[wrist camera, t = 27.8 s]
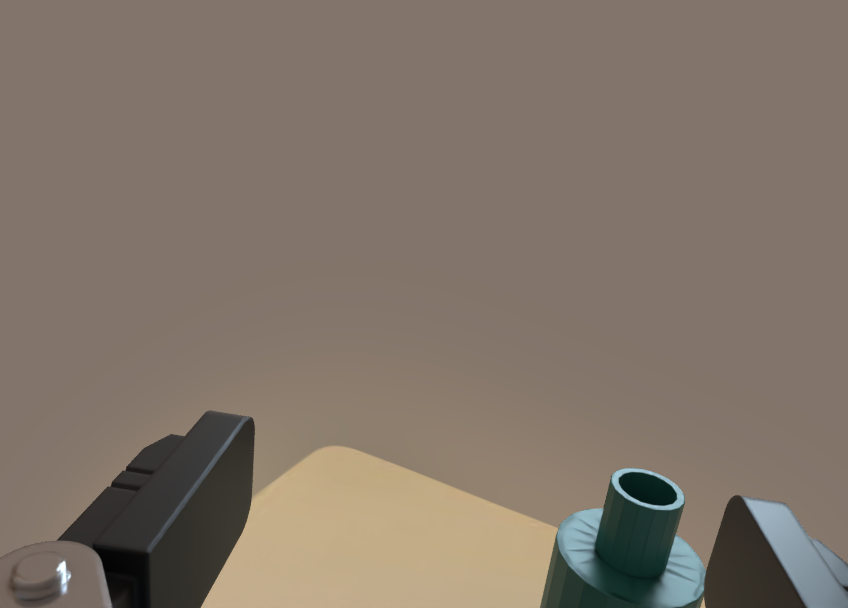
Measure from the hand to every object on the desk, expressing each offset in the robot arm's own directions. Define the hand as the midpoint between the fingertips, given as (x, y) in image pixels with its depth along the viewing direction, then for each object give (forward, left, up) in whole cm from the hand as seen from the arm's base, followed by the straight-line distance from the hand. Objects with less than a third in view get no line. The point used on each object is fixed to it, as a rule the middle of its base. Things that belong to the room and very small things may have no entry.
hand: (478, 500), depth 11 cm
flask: (-23, -4, -30) cm, 38 cm away
